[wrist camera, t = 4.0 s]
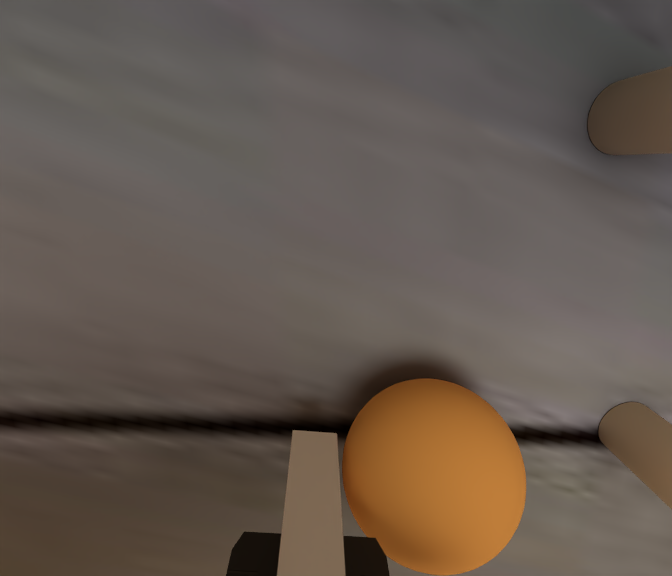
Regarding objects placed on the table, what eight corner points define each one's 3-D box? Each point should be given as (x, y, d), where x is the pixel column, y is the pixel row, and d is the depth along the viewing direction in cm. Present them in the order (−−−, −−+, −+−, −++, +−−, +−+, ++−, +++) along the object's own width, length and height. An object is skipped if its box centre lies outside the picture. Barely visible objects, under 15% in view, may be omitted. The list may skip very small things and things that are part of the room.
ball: (343, 628, 11) (537, 621, 12) (374, 455, 10) (598, 460, 10) (326, 472, 17) (459, 475, 18) (343, 344, 15) (490, 353, 16)
